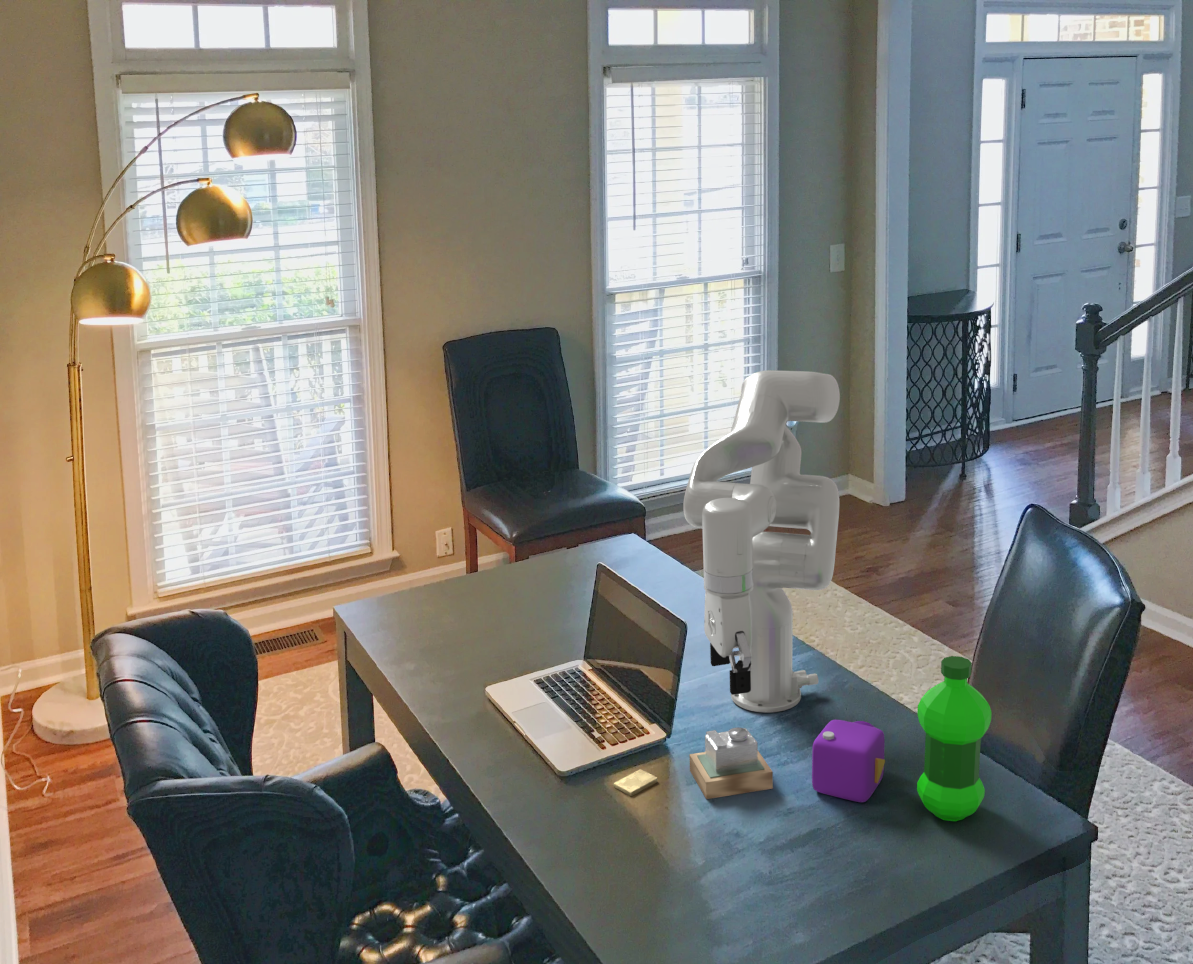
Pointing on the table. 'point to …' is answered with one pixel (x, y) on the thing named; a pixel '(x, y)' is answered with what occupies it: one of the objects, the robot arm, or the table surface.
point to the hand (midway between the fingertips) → (730, 678)
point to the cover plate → (635, 782)
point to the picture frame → (730, 777)
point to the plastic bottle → (953, 742)
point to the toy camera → (848, 760)
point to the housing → (731, 749)
